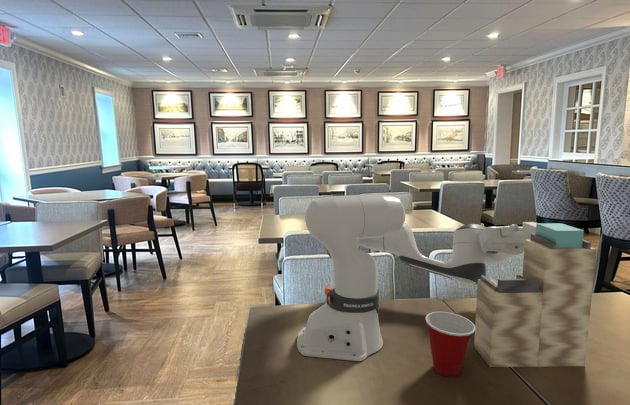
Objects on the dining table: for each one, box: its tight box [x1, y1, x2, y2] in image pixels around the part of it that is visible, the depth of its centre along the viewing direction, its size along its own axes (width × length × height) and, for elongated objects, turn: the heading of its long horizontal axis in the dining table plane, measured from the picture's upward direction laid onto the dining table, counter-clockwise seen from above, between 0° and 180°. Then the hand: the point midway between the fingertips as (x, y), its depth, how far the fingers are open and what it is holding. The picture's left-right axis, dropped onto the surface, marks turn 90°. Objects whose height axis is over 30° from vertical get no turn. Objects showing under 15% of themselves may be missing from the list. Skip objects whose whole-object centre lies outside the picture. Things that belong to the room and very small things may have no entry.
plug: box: [521, 221, 585, 248], centre depth 95 cm, size 6×17×4 cm, turn 0°
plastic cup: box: [425, 311, 476, 377], centre depth 88 cm, size 11×11×12 cm
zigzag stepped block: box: [473, 234, 597, 368], centre depth 92 cm, size 22×9×30 cm, turn 90°
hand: (533, 227), depth 101 cm, fingers open, 8 cm apart
